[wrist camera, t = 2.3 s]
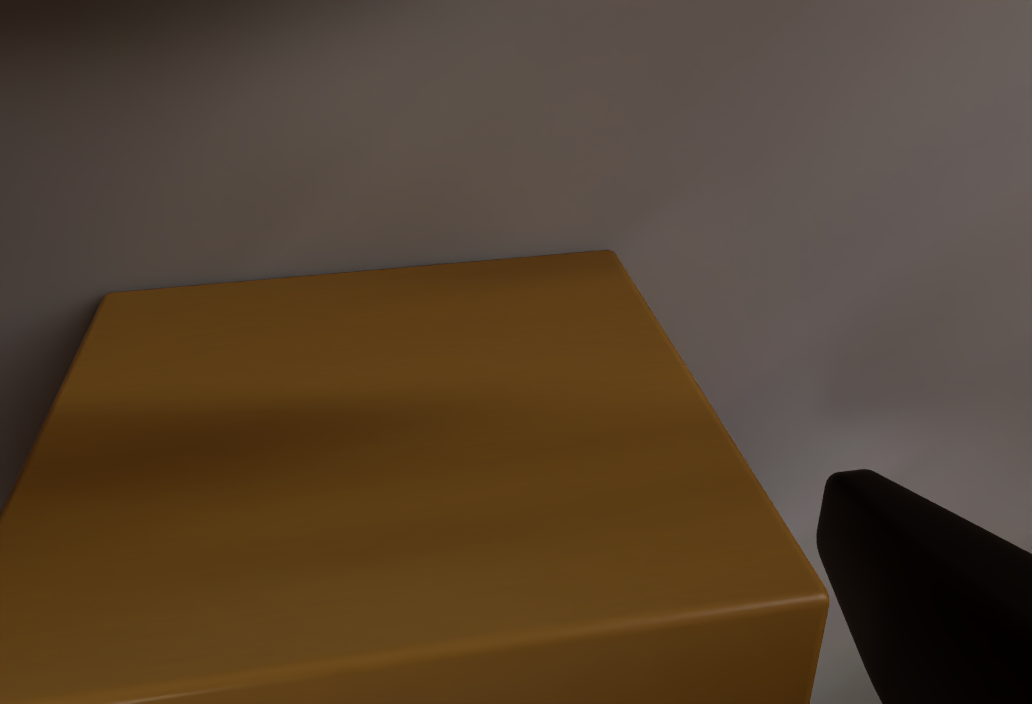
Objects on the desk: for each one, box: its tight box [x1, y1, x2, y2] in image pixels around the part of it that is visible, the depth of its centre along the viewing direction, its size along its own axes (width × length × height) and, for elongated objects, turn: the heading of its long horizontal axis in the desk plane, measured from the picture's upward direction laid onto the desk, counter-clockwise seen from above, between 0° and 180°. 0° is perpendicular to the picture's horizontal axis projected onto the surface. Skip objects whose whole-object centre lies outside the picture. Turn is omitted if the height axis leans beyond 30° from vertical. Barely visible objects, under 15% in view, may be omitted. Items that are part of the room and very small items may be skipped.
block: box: [0, 250, 829, 704], centre depth 8 cm, size 5×5×5 cm
